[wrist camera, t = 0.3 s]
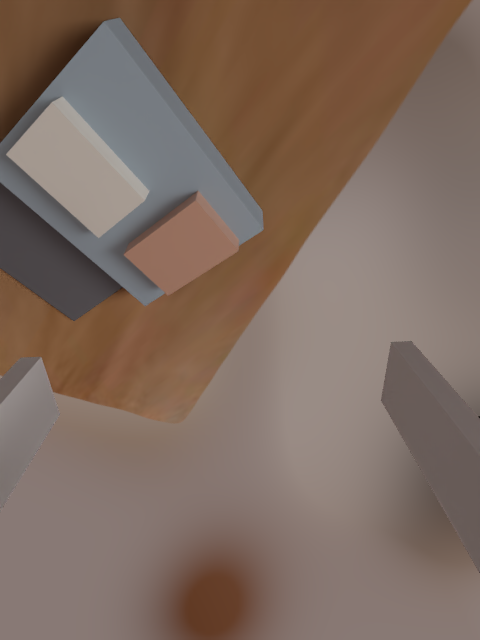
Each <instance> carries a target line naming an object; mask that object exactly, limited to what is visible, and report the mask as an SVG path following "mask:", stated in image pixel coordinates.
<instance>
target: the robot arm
mask: <svg viewBox="0 0 480 640" xmlns="http://www.w3.org/2000/svg"><path fill="white" fill-rule="evenodd" d="M381 401H382V403H383V405H384V406H385V408H386V410H387V412H388V413H389V415H390V417H391V419H392V420H393V422H394V424H395V425H396V427H397V429H398V431H399V433H400V434H401V436H402V438H403V440H404V441H405V443H406V445H407V447H408V448H409V450H410V452H411V454H412V456H413V457H414V459H415V461H416V462H417V464H418V466H419V468H420V470H421V471H422V473H423V475H424V477H425V478H426V480H427V482H428V484H429V485H430V487H431V489H432V491H433V492H434V494H435V496H436V497H437V499H438V501H439V503H440V504H441V506H442V508H443V510H444V512H445V513H446V515H447V517H448V519H449V520H450V522H451V524H452V526H453V527H454V529H455V531H456V533H457V534H458V536H459V538H460V540H461V541H462V543H463V545H464V547H465V548H466V550H467V552H468V554H469V555H470V557H471V559H472V561H473V563H474V564H475V566H476V568H477V569H478V571H479V573H480V416H477V415H476V414H475V413H474V412H473V410H472V409H471V408H470V407H469V406H468V405H467V404H466V402H465V401H464V400H463V399H462V398H461V397H460V396H459V395H458V393H457V392H456V391H455V390H454V389H453V388H452V387H451V385H450V384H449V383H448V382H447V381H446V380H445V379H444V378H443V376H442V375H441V374H440V373H439V372H438V371H437V370H436V368H435V367H434V366H433V365H432V364H431V363H430V362H429V361H428V359H427V358H426V357H425V356H424V355H423V354H422V353H421V351H420V350H419V349H418V348H417V347H416V346H415V345H414V344H413V342H412V341H407V342H406V341H405V342H391V346H390V352H389V358H388V363H387V369H386V375H385V381H384V387H383V392H382V398H381ZM59 415H60V413H59V410H58V407H57V404H56V401H55V398H54V395H53V391H52V388H51V385H50V382H49V379H48V376H47V373H46V370H45V367H44V364H43V361H42V358H41V357H26V358H20V359H19V360H18V361H17V362H16V363H15V364H14V365H13V366H12V367H11V368H10V370H9V371H8V372H7V373H6V374H5V375H4V376H3V377H2V378H1V379H0V511H1V510H2V508H3V507H4V505H5V503H6V502H7V500H8V498H9V497H10V495H11V493H12V492H13V490H14V488H15V487H16V485H17V483H18V482H19V480H20V479H21V477H22V475H23V474H24V472H25V471H26V469H27V467H28V466H29V464H30V462H31V461H32V459H33V457H34V456H35V454H36V453H37V451H38V449H39V448H40V446H41V444H42V443H43V441H44V440H45V438H46V436H47V435H48V433H49V431H50V430H51V428H52V426H53V425H54V423H55V422H56V420H57V418H58V416H59Z"/></svg>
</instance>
